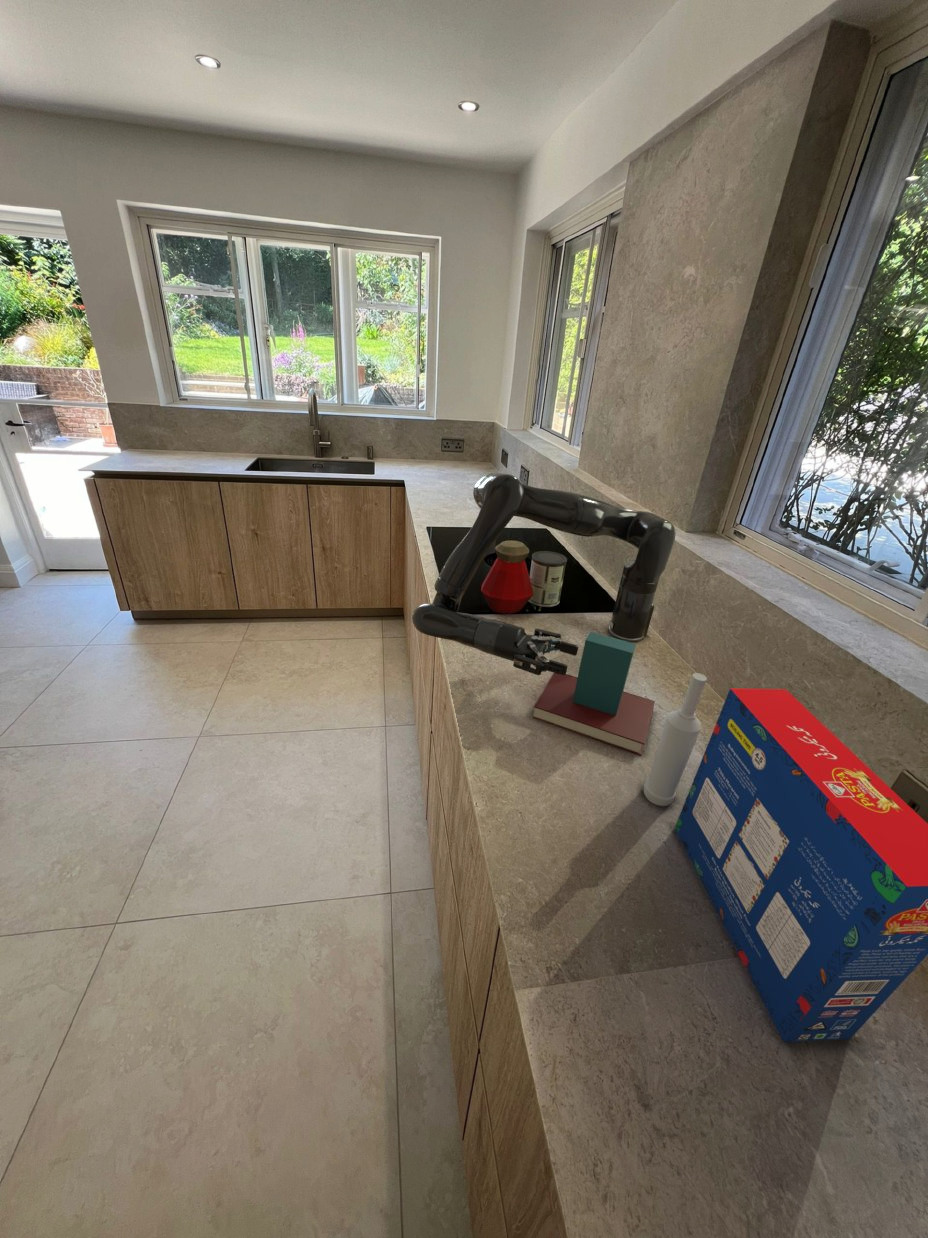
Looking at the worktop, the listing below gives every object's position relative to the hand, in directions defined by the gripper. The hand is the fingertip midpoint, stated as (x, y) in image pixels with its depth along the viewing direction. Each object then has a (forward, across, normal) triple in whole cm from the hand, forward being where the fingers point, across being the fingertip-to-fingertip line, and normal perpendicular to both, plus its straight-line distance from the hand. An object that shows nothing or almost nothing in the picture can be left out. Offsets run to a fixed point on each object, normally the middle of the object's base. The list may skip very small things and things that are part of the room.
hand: (572, 660), depth 101 cm
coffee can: (-20, +48, +12) cm, 53 cm away
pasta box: (+35, -32, +12) cm, 49 cm away
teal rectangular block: (+6, 0, +8) cm, 11 cm away
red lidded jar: (-28, +36, +12) cm, 47 cm away
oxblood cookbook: (+6, 0, +12) cm, 13 cm away
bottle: (+22, -16, +12) cm, 29 cm away
